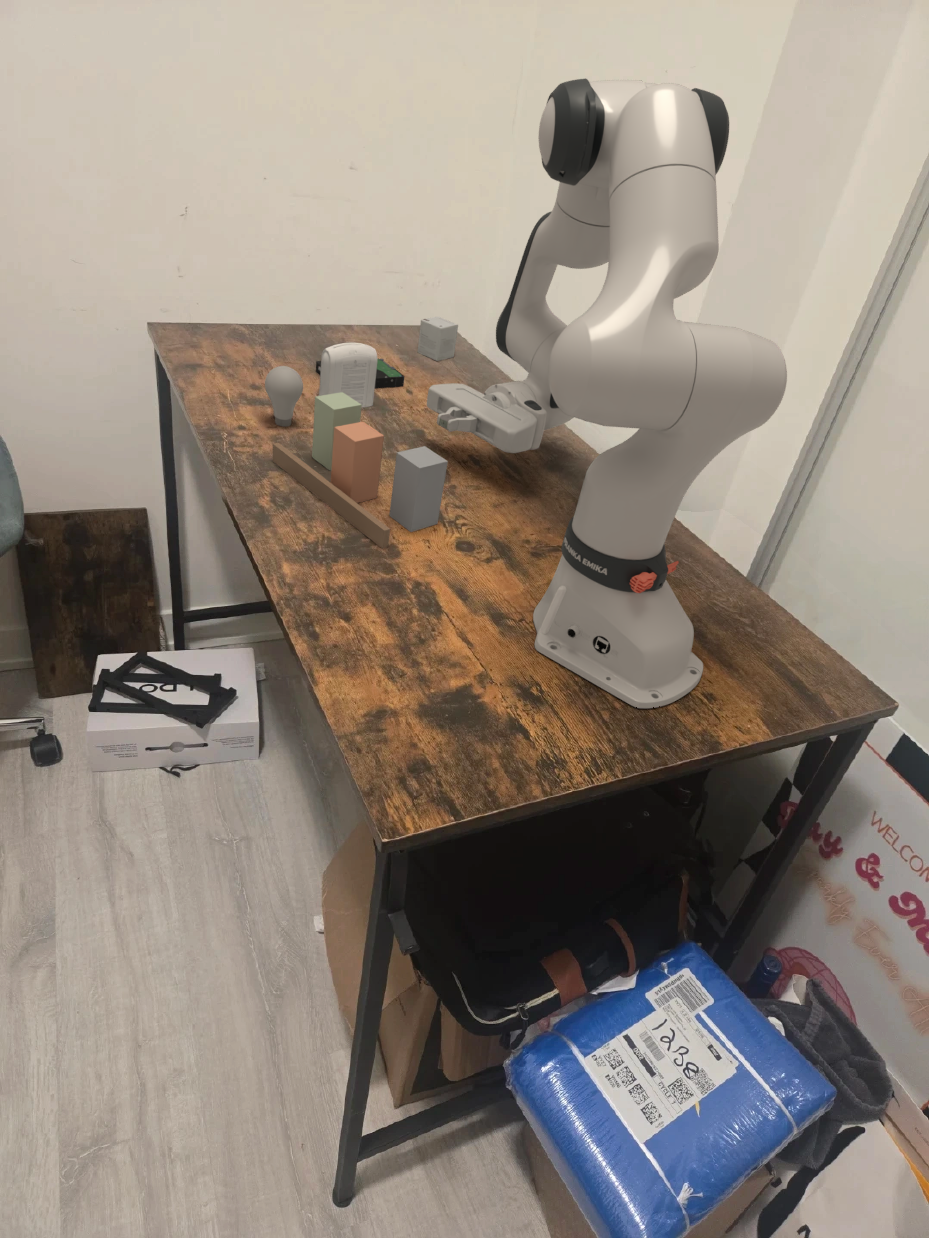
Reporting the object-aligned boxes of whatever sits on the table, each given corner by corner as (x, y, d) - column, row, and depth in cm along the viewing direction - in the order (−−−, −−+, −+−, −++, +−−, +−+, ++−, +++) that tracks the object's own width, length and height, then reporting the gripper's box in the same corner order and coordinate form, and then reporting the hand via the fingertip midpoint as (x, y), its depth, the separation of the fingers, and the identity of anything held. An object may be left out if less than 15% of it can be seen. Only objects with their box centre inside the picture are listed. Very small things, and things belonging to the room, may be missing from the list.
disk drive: (337, 395, 151) (404, 389, 159) (338, 381, 149) (405, 375, 157) (314, 374, 157) (380, 369, 165) (314, 360, 156) (381, 356, 163)
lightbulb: (287, 420, 137) (289, 358, 131) (308, 434, 134) (311, 371, 127) (257, 426, 133) (257, 363, 127) (277, 441, 130) (279, 376, 124)
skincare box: (454, 357, 177) (459, 324, 173) (436, 362, 173) (441, 328, 169) (434, 348, 180) (438, 315, 175) (416, 352, 176) (420, 319, 171)
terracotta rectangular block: (377, 497, 118) (384, 435, 112) (349, 505, 115) (355, 441, 109) (357, 483, 120) (363, 421, 114) (330, 489, 117) (334, 427, 111)
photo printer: (365, 404, 148) (370, 338, 141) (375, 413, 146) (382, 346, 138) (314, 408, 143) (318, 340, 136) (324, 418, 140) (329, 349, 133)
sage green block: (356, 464, 125) (361, 404, 119) (330, 470, 122) (334, 409, 116) (338, 451, 128) (342, 392, 122) (311, 457, 125) (315, 396, 119)
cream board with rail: (475, 526, 118) (480, 501, 116) (373, 559, 107) (376, 533, 104) (364, 448, 133) (366, 425, 131) (264, 470, 122) (265, 445, 119)
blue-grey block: (437, 523, 114) (447, 461, 108) (410, 532, 111) (419, 468, 105) (415, 508, 117) (424, 446, 111) (389, 515, 114) (396, 452, 108)
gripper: (466, 370, 134) (403, 379, 125) (554, 415, 123) (491, 429, 114) (461, 405, 138) (399, 417, 129) (545, 453, 126) (483, 468, 118)
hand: (443, 423), depth 122 cm, fingers closed
